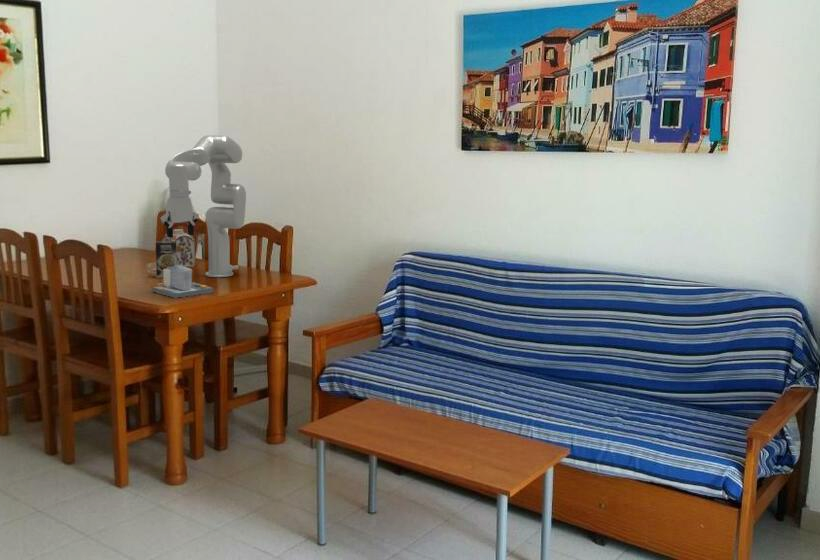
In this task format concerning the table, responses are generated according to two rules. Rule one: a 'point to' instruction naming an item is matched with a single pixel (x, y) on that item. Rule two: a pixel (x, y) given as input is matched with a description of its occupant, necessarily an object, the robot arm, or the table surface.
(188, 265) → the decorative jar
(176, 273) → the medicine box
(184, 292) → the panel
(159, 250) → the coffee box
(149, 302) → the table surface
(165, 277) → the toggle
